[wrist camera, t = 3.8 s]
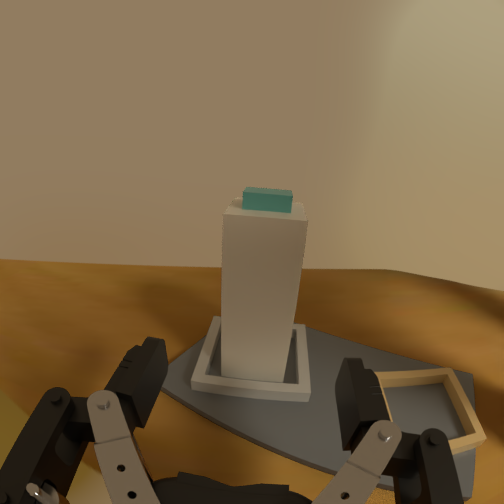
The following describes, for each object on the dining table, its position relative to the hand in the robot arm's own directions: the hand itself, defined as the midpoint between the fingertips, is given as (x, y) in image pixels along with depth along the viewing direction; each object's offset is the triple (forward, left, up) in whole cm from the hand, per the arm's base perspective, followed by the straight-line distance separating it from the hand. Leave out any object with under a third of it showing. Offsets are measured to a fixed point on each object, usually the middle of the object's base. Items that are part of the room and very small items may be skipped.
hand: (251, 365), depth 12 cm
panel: (-7, +4, -8) cm, 11 cm away
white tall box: (-7, -3, -7) cm, 10 cm away
